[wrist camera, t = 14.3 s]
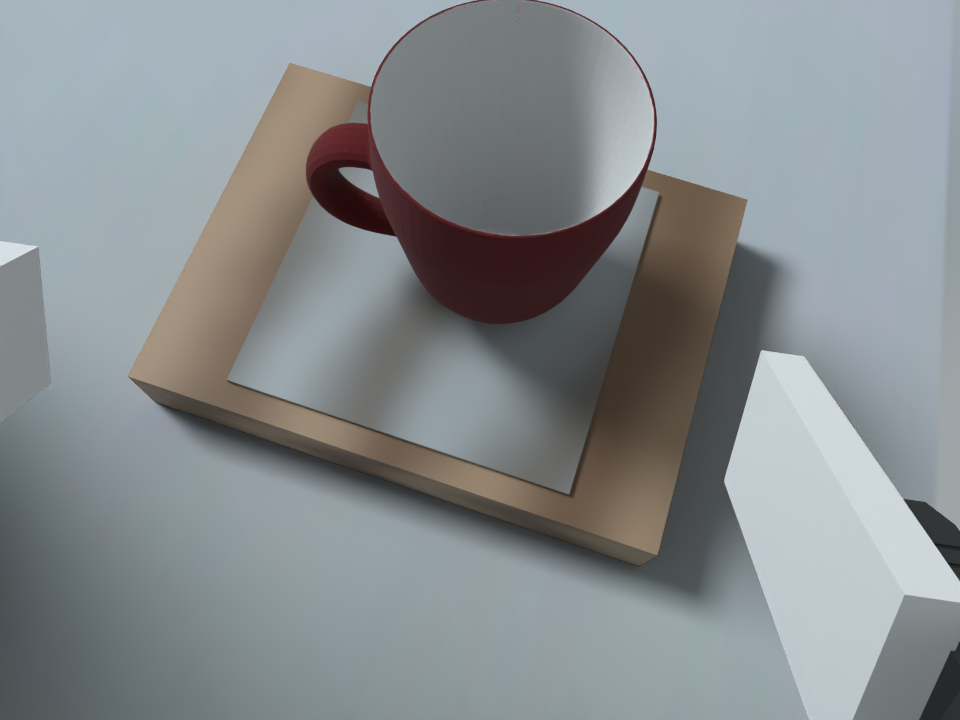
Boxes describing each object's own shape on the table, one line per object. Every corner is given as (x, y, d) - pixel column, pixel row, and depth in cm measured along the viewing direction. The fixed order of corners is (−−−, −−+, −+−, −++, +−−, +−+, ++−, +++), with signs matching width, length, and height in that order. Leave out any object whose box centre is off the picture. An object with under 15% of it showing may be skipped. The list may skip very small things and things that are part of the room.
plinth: (154, 401, 34) (125, 374, 31) (301, 107, 39) (289, 59, 36) (639, 566, 32) (658, 554, 29) (725, 235, 37) (749, 197, 34)
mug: (312, 361, 31) (253, 224, 22) (337, 173, 34) (294, -19, 25) (599, 378, 31) (662, 249, 22) (599, 190, 34) (655, 4, 25)
